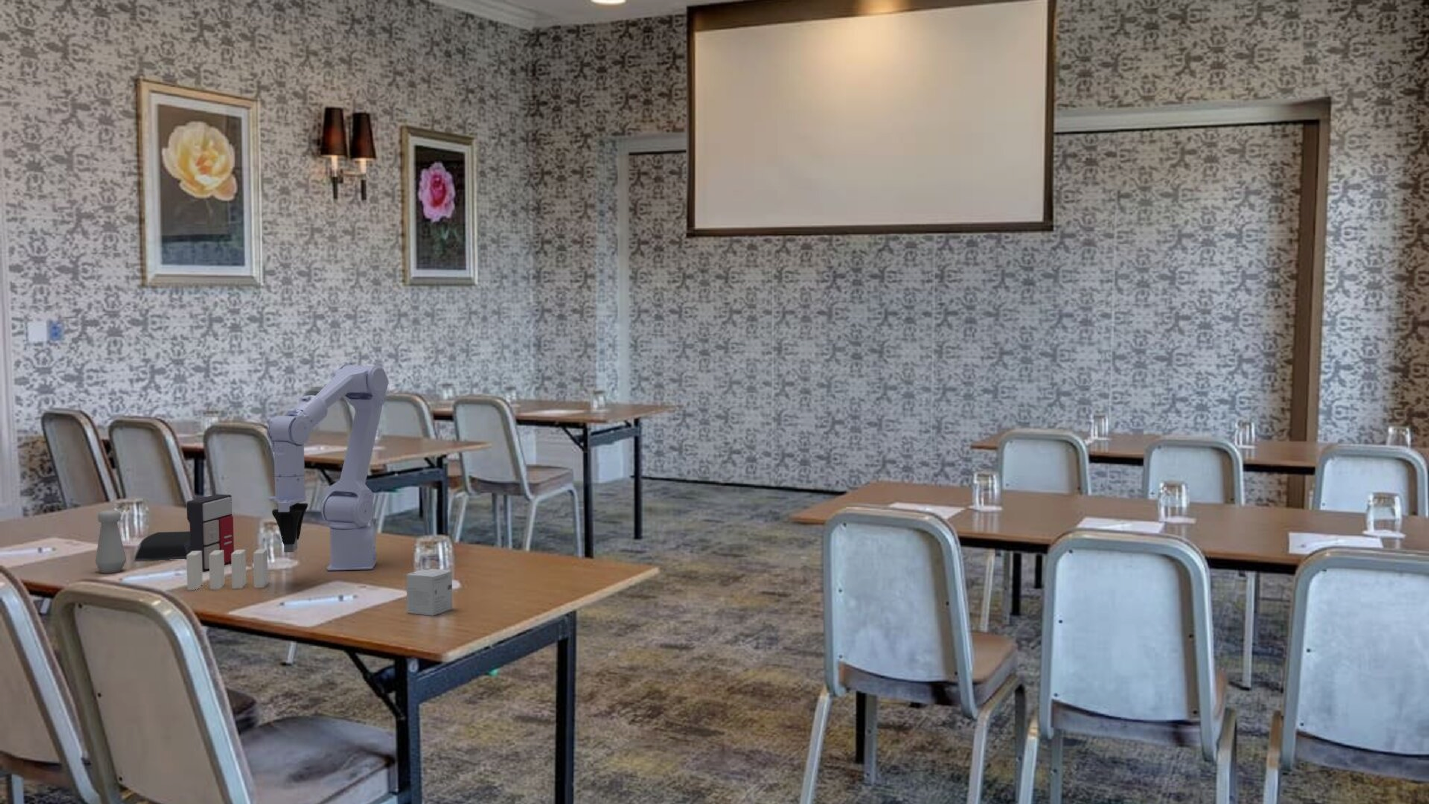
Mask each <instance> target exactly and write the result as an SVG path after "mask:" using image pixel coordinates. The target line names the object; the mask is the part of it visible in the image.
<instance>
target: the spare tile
mask: <svg viewBox="0 0 1429 804" xmlns="http://www.w3.org/2000/svg"><path fill="white" fill-rule="evenodd" d="M297 549H298V540H297V533H296V540H295V543H294V544H289V545H283V553H294V552H295V551H296V550H297Z"/></svg>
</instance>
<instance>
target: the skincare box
mask: <svg viewBox="0 0 1429 804" xmlns="http://www.w3.org/2000/svg"><path fill="white" fill-rule="evenodd" d="M452 573H453V571H452V570H450V569H449V570H448V569H438V568H426V567H425V568H423V569H420V570H415V571H413V572H410V573H407V574H406V613H407V614H412V615H413V614H415V615H424V616H436V615H439V614H441V613H444V612H447V611H450V610H452V609H453V576H452V575H453V574H452Z"/></svg>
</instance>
